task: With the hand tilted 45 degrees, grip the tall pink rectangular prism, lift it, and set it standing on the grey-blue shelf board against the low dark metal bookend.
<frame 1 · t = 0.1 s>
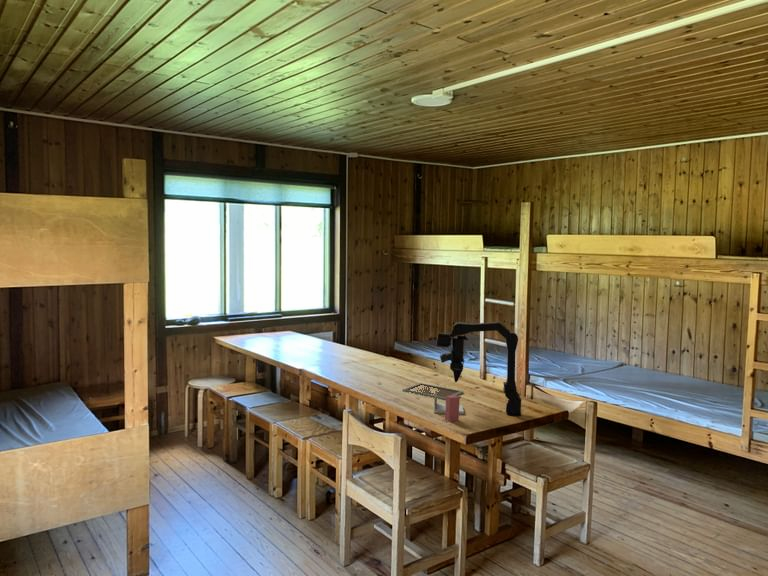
hand: (456, 379, 278), 15 cm above the table, tool pointing down, fingers open, 9 cm apart
tall pink rectangular prism: (451, 420, 262), on the table
gray perforated panel: (435, 393, 309), on the table
shelf: (448, 410, 277), on the table
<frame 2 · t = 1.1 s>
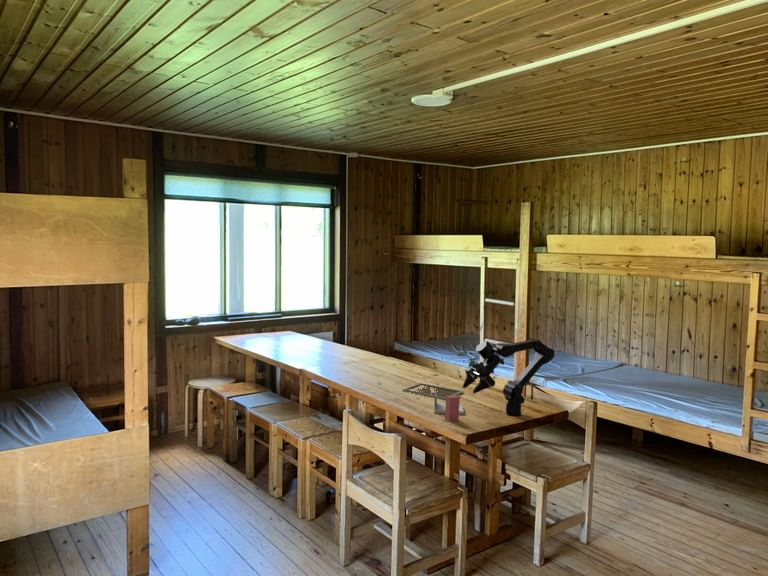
hand: (468, 390, 264), 13 cm above the table, tool tilted 45°, fingers open, 9 cm apart
nothing on the table moved.
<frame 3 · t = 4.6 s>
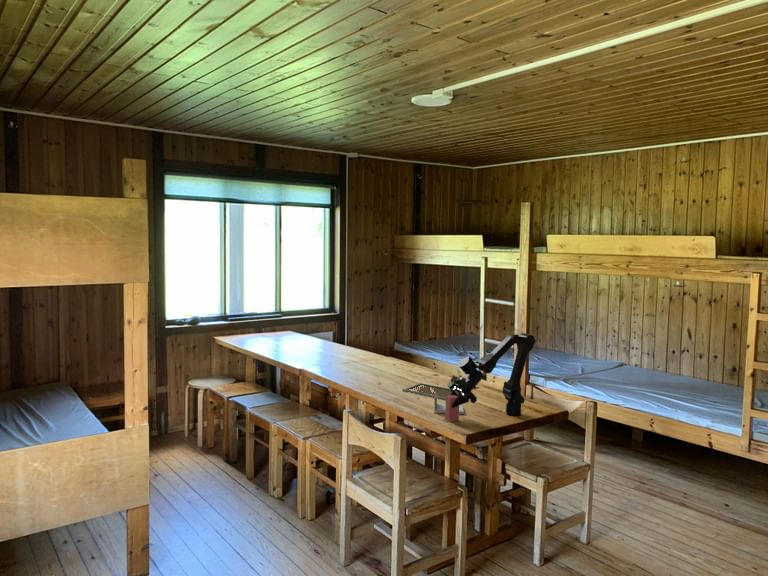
hand: (449, 406, 261), 7 cm above the table, tool tilted 45°, fingers closed on tall pink rectangular prism, 4 cm apart
tall pink rectangular prism: (451, 419, 262), on the table, touching gripper
everything else where it was.
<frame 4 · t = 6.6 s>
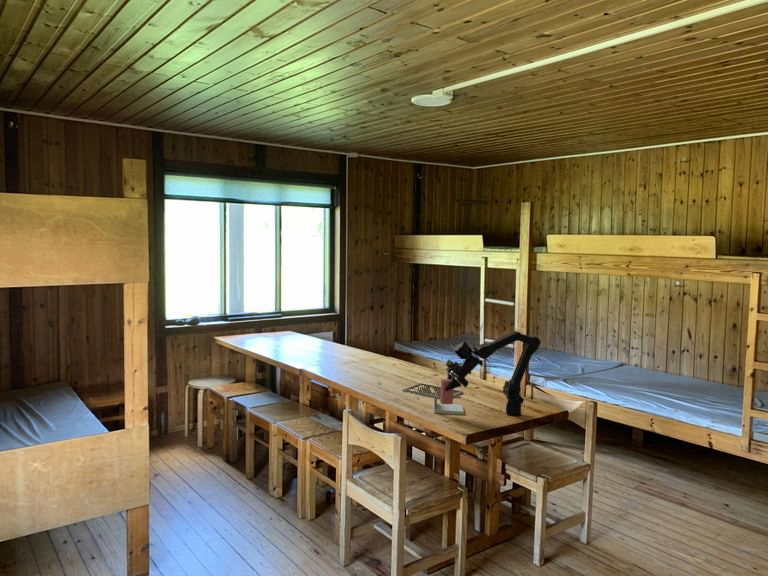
hand: (444, 389, 268), 12 cm above the table, tool tilted 45°, fingers closed on tall pink rectangular prism, 4 cm apart
tall pink rectangular prism: (446, 403, 268), point 6 cm above the table, touching gripper
everything else where it was.
when the fingers open (9 cm above the table, at t = 8.8 s): tall pink rectangular prism stays where it is, resting on shelf.
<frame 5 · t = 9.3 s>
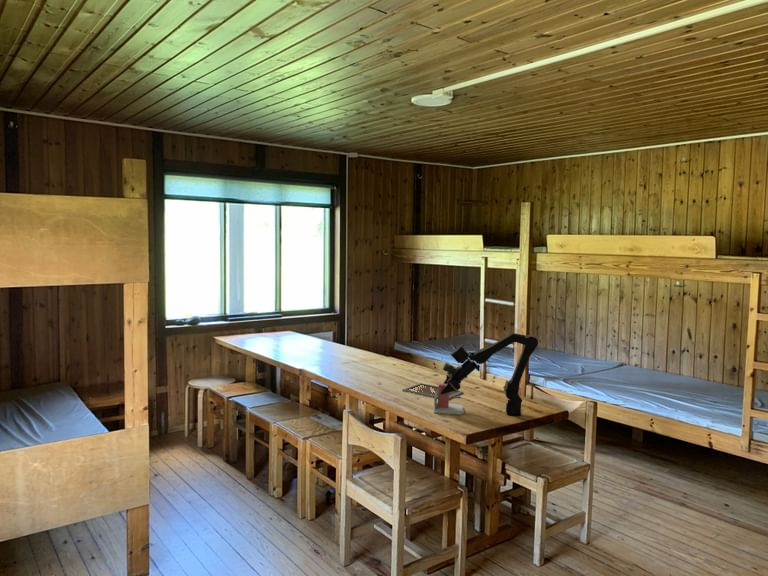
hand: (440, 391, 277), 9 cm above the table, tool tilted 45°, fingers open, 9 cm apart
tall pink rectangular prism: (442, 406, 277), point 1 cm above the table, touching shelf
everything else where it was.
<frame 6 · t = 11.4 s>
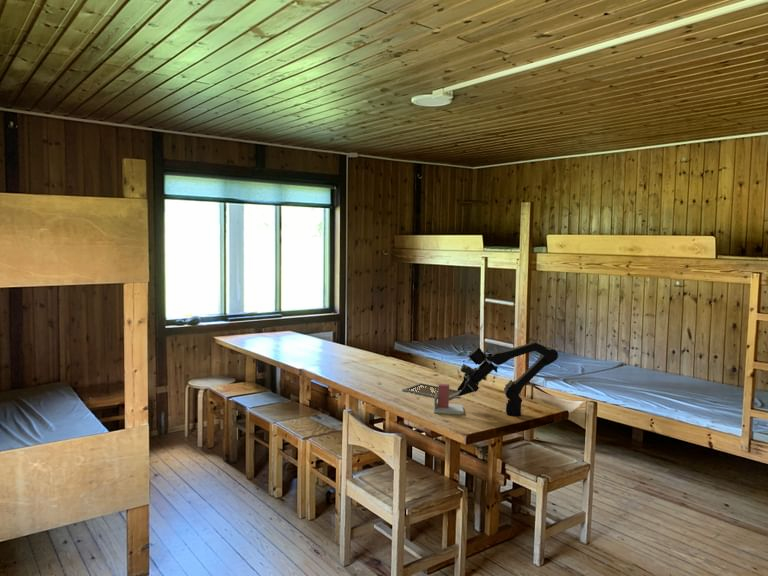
hand: (458, 392, 276), 9 cm above the table, tool tilted 45°, fingers open, 9 cm apart
nothing on the table moved.
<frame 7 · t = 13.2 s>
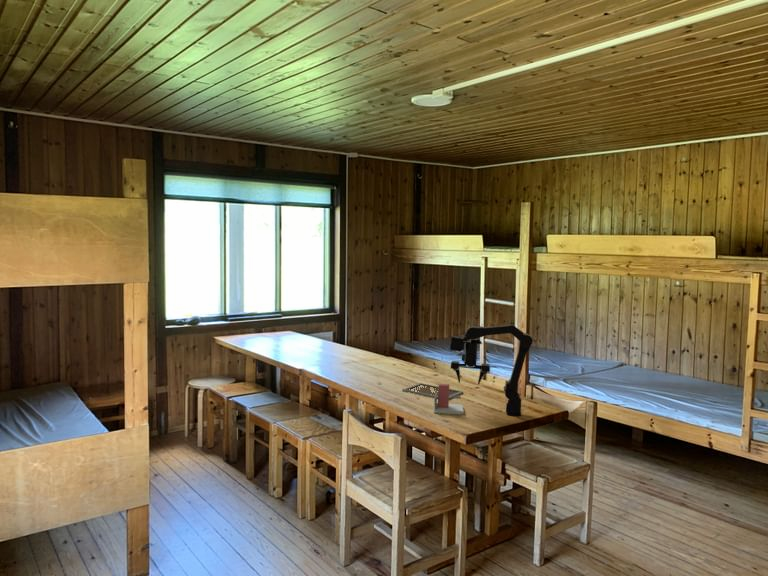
hand: (468, 383, 277), 13 cm above the table, tool pointing down, fingers open, 9 cm apart
nothing on the table moved.
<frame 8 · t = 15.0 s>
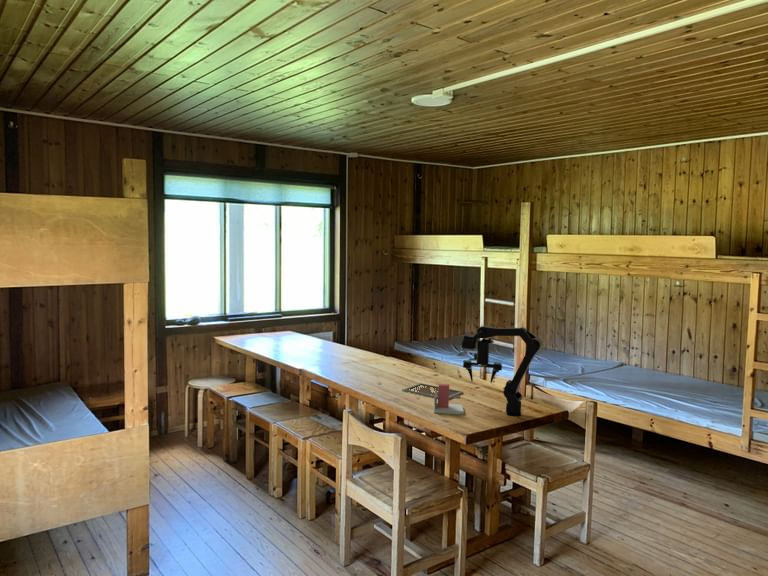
hand: (481, 382, 281), 13 cm above the table, tool pointing down, fingers open, 9 cm apart
nothing on the table moved.
at the end: tall pink rectangular prism 1.2 cm from the target spot on the shelf, point 1.5 cm above the shelf's base; tall pink rectangular prism tilted 0°; the gripper is holding nothing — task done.
